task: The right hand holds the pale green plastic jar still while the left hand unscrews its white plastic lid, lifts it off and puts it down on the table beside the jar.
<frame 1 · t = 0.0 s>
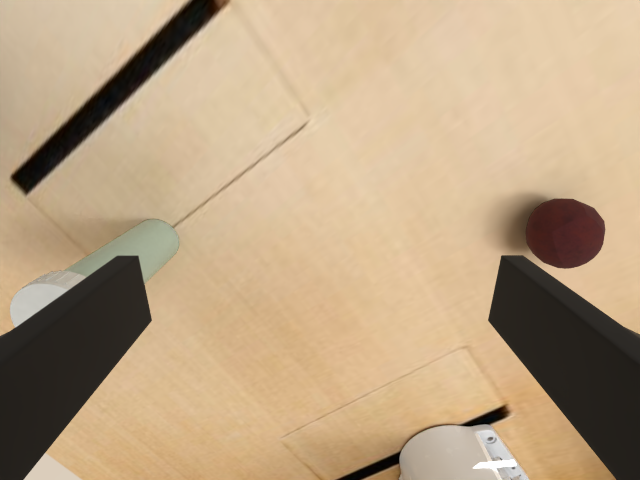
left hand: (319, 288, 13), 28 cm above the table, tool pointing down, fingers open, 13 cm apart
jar: (157, 239, 42), on the table
lid: (57, 318, 26), point 17 cm above the table, screwed on, not yet turned
dark red ball: (543, 222, 41), on the table
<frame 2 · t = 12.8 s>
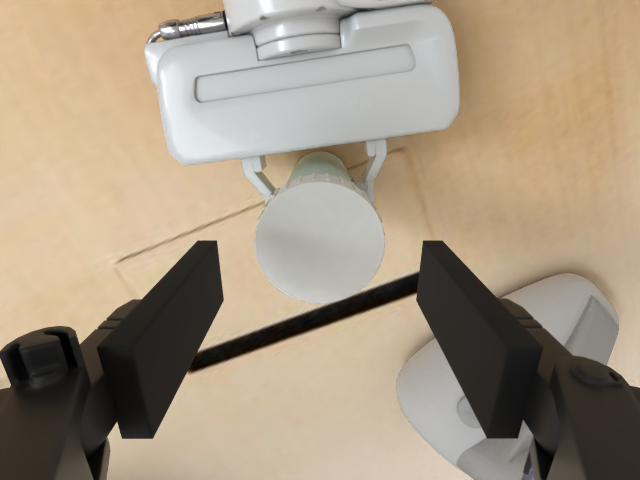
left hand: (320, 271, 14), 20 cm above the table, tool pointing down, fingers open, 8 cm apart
right hand: (322, 207, 27), fingers closed on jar, 5 cm apart
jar: (319, 179, 33), on the table, touching right hand
lid: (319, 244, 17), point 17 cm above the table, screwed on, not yet turned
projector: (494, 345, 39), on the table
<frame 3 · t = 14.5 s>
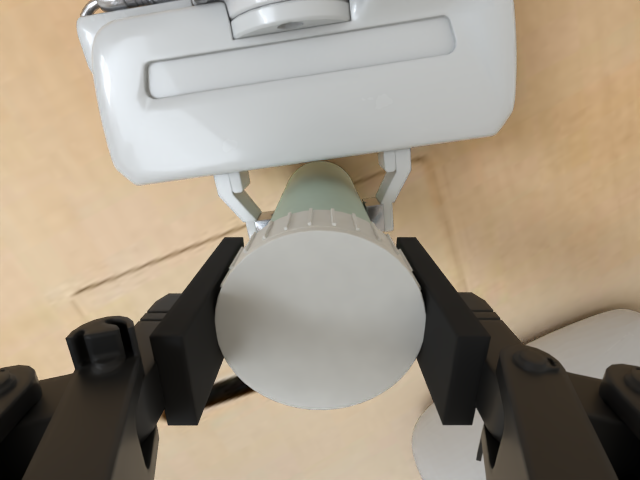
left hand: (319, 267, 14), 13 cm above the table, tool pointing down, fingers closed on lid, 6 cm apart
right hand: (323, 237, 20), fingers closed on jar, 5 cm apart
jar: (320, 196, 26), on the table, touching right hand
lid: (320, 323, 10), point 17 cm above the table, screwed on, not yet turned, touching left hand
projector: (527, 389, 33), on the table
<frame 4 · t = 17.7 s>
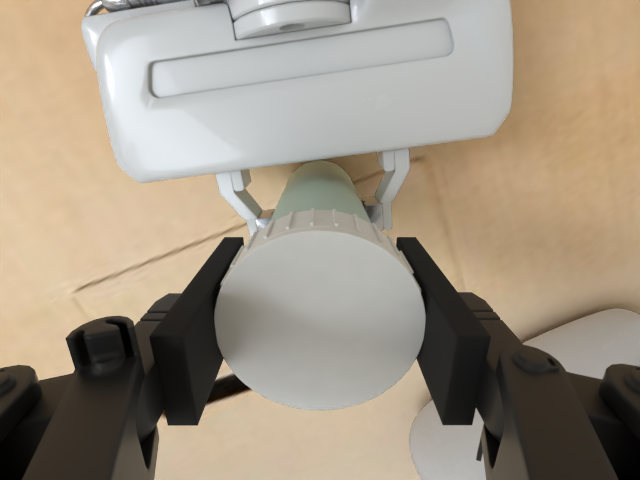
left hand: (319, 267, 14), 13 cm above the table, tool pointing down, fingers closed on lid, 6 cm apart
right hand: (322, 235, 21), fingers closed on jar, 5 cm apart
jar: (320, 195, 27), on the table, touching right hand
lid: (319, 323, 10), point 17 cm above the table, turned 98° so far, risen 0.3 cm, still on its thread, touching left hand
projector: (524, 388, 33), on the table
when the left hand's fingers open (0 cm above the table, at t = 24.9 s): lid drops 2 cm, point 2 cm above the table.
when the right hand's fingers open (7 cm above the table, at t = 25.7 s): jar stays where it is, on the table.
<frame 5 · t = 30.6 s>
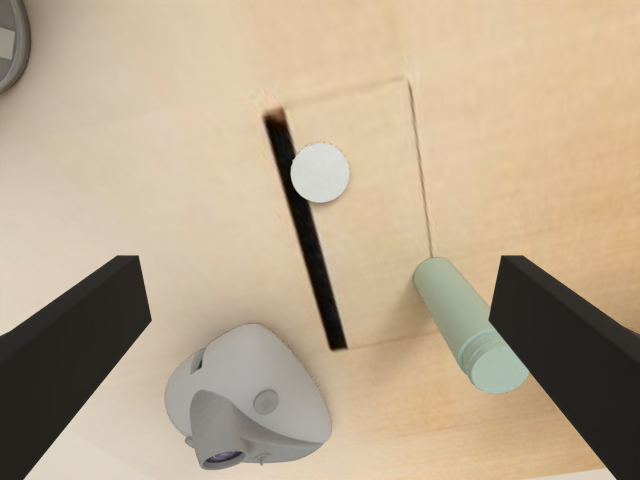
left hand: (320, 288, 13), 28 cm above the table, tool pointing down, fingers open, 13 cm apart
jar: (434, 276, 43), on the table
lid: (320, 173, 37), point 2 cm above the table, off its thread
projector: (268, 382, 49), on the table
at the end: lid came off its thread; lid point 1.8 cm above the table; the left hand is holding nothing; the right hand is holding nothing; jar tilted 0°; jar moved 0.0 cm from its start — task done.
